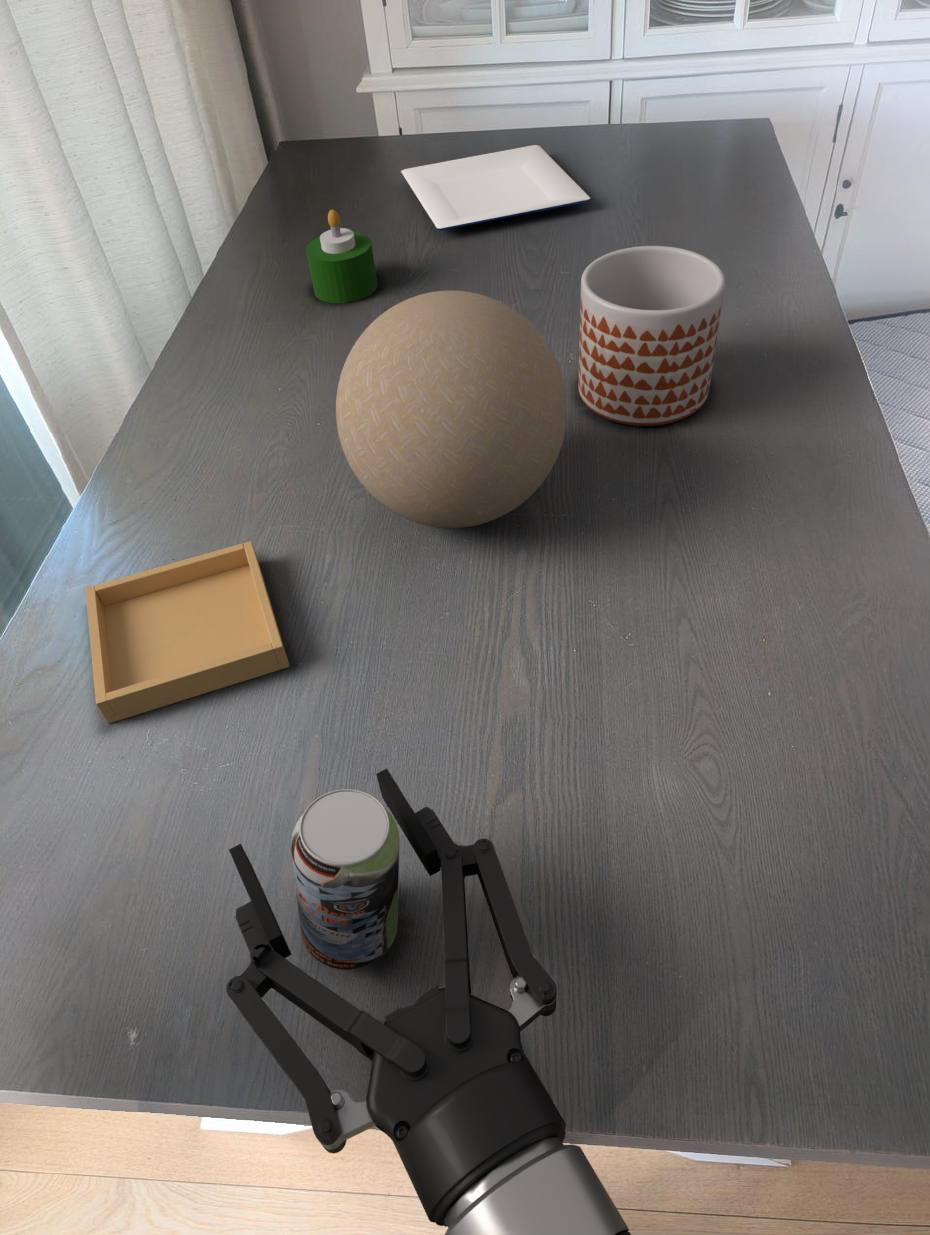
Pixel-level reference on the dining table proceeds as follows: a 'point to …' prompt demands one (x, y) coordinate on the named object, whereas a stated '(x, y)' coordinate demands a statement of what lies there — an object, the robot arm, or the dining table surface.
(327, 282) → the candle
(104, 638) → the wooden serving tray
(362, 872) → the beverage can
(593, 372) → the planter
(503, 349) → the decorative sphere
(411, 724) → the dining table surface
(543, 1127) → the robot arm
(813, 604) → the dining table surface
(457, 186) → the plate
